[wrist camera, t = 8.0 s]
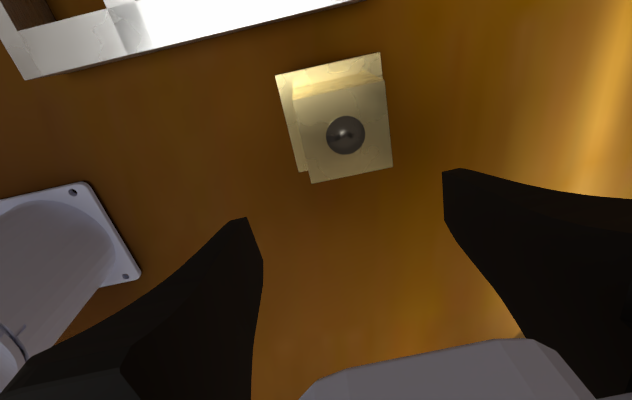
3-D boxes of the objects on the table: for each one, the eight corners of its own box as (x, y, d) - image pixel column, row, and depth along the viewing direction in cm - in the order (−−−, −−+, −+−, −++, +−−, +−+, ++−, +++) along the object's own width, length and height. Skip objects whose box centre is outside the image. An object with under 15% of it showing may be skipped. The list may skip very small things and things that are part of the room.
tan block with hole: (298, 151, 21) (299, 201, 14) (278, 68, 18) (269, 86, 12) (375, 134, 20) (410, 178, 14) (365, 49, 18) (401, 56, 12)
